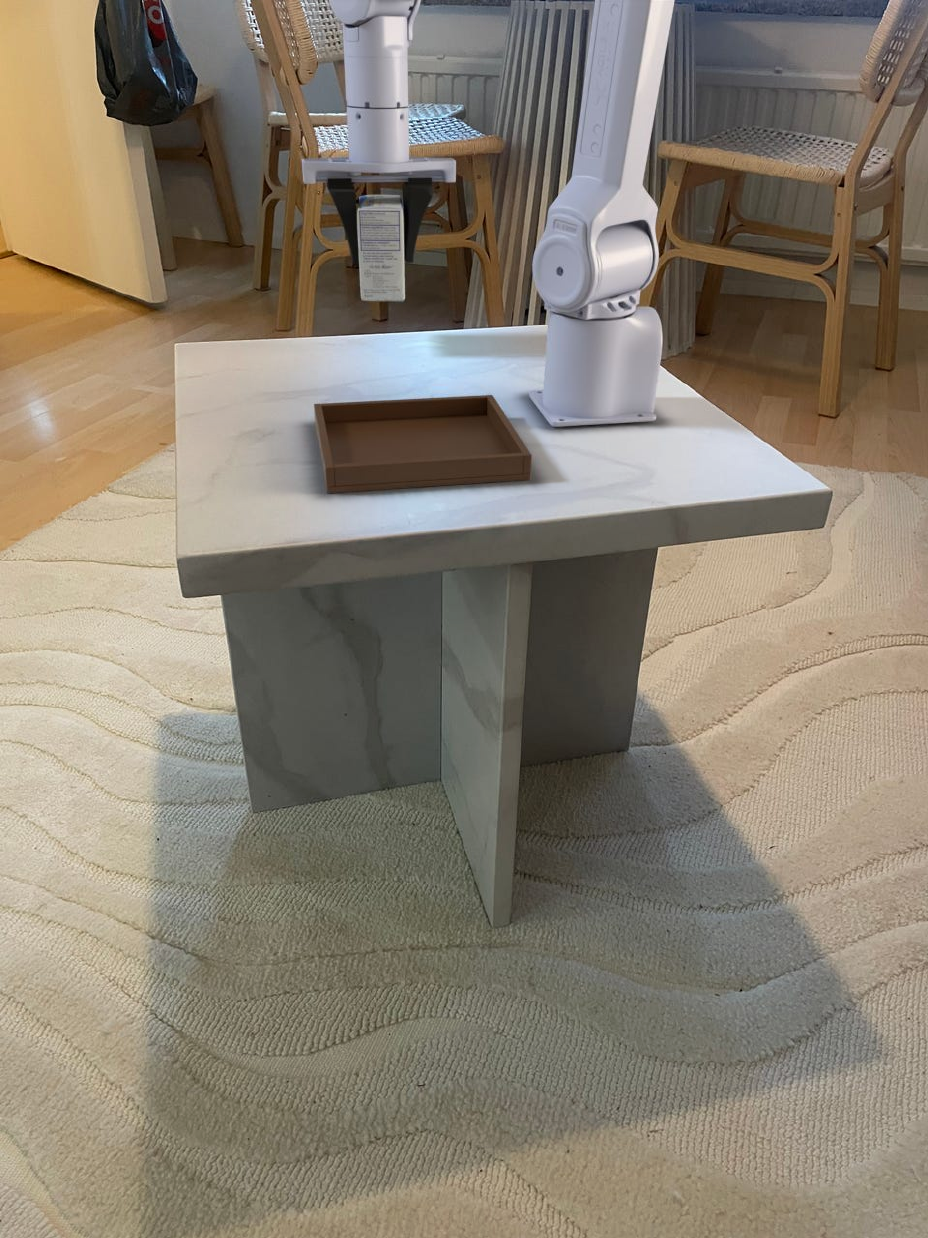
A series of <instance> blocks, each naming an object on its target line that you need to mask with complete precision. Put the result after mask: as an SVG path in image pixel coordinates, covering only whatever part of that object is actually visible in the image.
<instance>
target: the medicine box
mask: <svg viewBox="0 0 928 1238" xmlns="http://www.w3.org/2000/svg"><path fill="white" fill-rule="evenodd" d="M356 220H357V236H358V248H359V264H358V267H359V268H358V270H359V287H360V298H361V299H360V300H361V301H364V302H365V301H366V302H404V301H405V299H406V281H405V280H406V278H405V277H406V275H405V273H406V272H405V260H404V209H403V197H402V196H401V195H399V194H398V195H397V194H366V195H360V196H359V197H358V206H357V209H356Z"/></svg>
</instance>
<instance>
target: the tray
mask: <svg viewBox="0 0 928 1238" xmlns="http://www.w3.org/2000/svg"><path fill="white" fill-rule="evenodd" d="M313 409H314V423H315V431H316V437H317V444H318V449H319V452H320V453H319V454H320V460H321V466H322V471H323V477H324V482H325V483H324V484H325V490H326V493H327V494H336V493H337V494H338V493H339V494H340V493H351V492H352V493H353V492H354V493H355V492H367V491H369V492H370V491H380V490H381V491H382V490H396V489H412V488H427V487H439V486H440V487H441V486H455V485H456V486H458V485H470V484H472V485H473V484H486V483H487V484H488V483H500V482H501V483H502V482H517V481H529V480H531V473H532V457H533V455H532V454H531V452H530V450H529V449H528V447H527V446H526V443H524V441H523V440H522V438H521V436H520V435H519V433H518V432H517V431H516V429H515V427H514V425H513V424H512V423H511V421H510V420H509V419H508V417H507V415H506V414H505V412H504V411H503V409H502V407H501V406H500V404H499V403H498V402H497V400H496V398H495V397H494V395H493V394H483V395H482V394H481V395H467V396H466V395H465V396H446V397H445V396H442V397H441V396H440V397H423V398H421V397H420V398H404V399H385V400H384V399H383V400H382V399H381V400H366V401H365V400H364V401H363V400H362V401H345V402H325V403H314V404H313Z"/></svg>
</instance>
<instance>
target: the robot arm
mask: <svg viewBox="0 0 928 1238" xmlns="http://www.w3.org/2000/svg"><path fill="white" fill-rule="evenodd" d="M421 1H422V0H328V3H329V6H330V9H331V11H332V13H333V15H334V16H335V17H336V18H337V20H338V21H340V22H341V23H342V38H343V41H342V42H343V60H344V63H343V64H344V80H345V82H344V84H345V102H346V103H345V105H346V124H347V125H346V126H347V127H346V128H347V144H348V145H347V146H348V156H340V157H322V158H321V157H320V158H301V172H302V181H303V184H304V185H314V184H318V183H325V186H326V188H327V190H328V192H329V195H330V197H331V199H332V201H333V204H334V206H335V208H336V210H337V213H338V216H339V218H340V221H341V225H342V227H343V230H344V233H345V237H346V241H347V244H348V248H349V256H350V262H351V265H359V248H358V230H357V193H356V191H355V185H354V184H353V183H400V182H401V191H402V193H401V194H402V205H403V223H404V262H405V263H406V264H412V263H414V258H415V252H416V251H415V250H416V244H417V242H418V241H417V240H418V236H419V234H420V229H421V227H422V226H421V225H422V223H423V221H424V218H425V215H426V212H427V210H428V208H429V205H430V204H431V201H432V199H433V196H434V193H435V186H434V185H433V182H444V183H456V181H457V180H456V179H457V161H456V160H455V159H454V158H453V157H426V156H425V157H424V156H422V157H421V156H410V120H409V118H410V117H409V116H410V115H409V112H410V111H409V66H408V65H409V59H408V57H409V56H408V55H409V53H408V51H409V48H410V47H411V44H412V43H411V42H412V41H413V35H414V34H413V29H414V28H413V27H414V22H415V18H416V17H417V14H418V12H419V9H420V7H421V6H420V5H421ZM674 6H675V0H594V6H593V14H592V20H591V28H590V37H589V44H588V51H587V59H586V67H585V74H584V82H583V91H582V95H581V96H582V97H581V103H580V104H581V105H580V112H579V120H578V127H577V135H576V142H575V149H574V157H573V164H572V165H573V166H572V172H571V177H570V179H569V181H568V182H567V184H566V185H565V186H564V187H563V189H562V190H561V191H560V193H559V194H558V195H557V197H556V198H555V199H554V201H553V202H552V204H550V206H549V208H548V211H547V219H546V225H545V228H544V232H543V234H542V236H541V238H540V240H539V242H538V243H537V245H536V247H535V250H534V253H533V257H532V263H531V265H532V267H531V271H532V278H533V283H534V286H535V288H536V291H537V293H538V295H539V297H540V298H541V299H542V301H543V302H544V310H546V311H548V316H547V317H548V318H547V319H548V320H547V330H546V331H547V333H546V348H545V360H544V375H543V376H544V377H543V389H542V390H541V389H540V390H539V389H538V390H531V391H529V393H528V397H529V398H530V400H531V401H532V402H533V404H534V405H535V407H536V408H537V409H538V411H539V412H540V413H541V414H542V416H543V417H544V418H545V420H546V422H548V424H549V425H550V426H551V427H554V428H555V427H557V428H560V427H575V426H576V427H577V426H590V425H609V424H626V423H628V424H629V423H644V422H646V423H647V422H654V421H656V420H657V414H656V413H655V404H656V397H657V390H658V381H659V376H660V368H661V360H662V354H663V341H664V340H663V326H662V321H661V318H660V315H659V313H658V312H657V310H656V309H655V308H654V307H651V306H645V305H640V299H641V291H644V289H646V287H648V286H649V285H650V284H651V282H652V281H653V279H654V277H655V275H656V272H657V270H658V265H659V260H660V259H659V258H660V251H659V245H658V244H659V243H658V239H657V233H656V226H657V225H656V224H657V218H658V212H659V208H658V205H657V204H656V202H655V201H654V199H653V198H652V197H651V195H650V194H649V193H648V192H647V190H646V188H645V187H644V183H643V182H644V179H645V171H646V165H647V161H648V154H649V149H650V148H649V147H650V142H651V138H652V133H653V126H654V122H655V121H654V120H655V114H656V108H657V103H658V98H659V91H660V86H661V80H662V74H663V70H664V63H665V58H666V53H667V52H666V51H667V46H668V41H669V35H670V29H671V24H672V18H673V12H674ZM362 173H365V174H377V175H362ZM396 173H397V174H396ZM378 174H380V175H378ZM381 174H382V175H381ZM383 174H384V175H383ZM387 174H389V175H387Z"/></svg>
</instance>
